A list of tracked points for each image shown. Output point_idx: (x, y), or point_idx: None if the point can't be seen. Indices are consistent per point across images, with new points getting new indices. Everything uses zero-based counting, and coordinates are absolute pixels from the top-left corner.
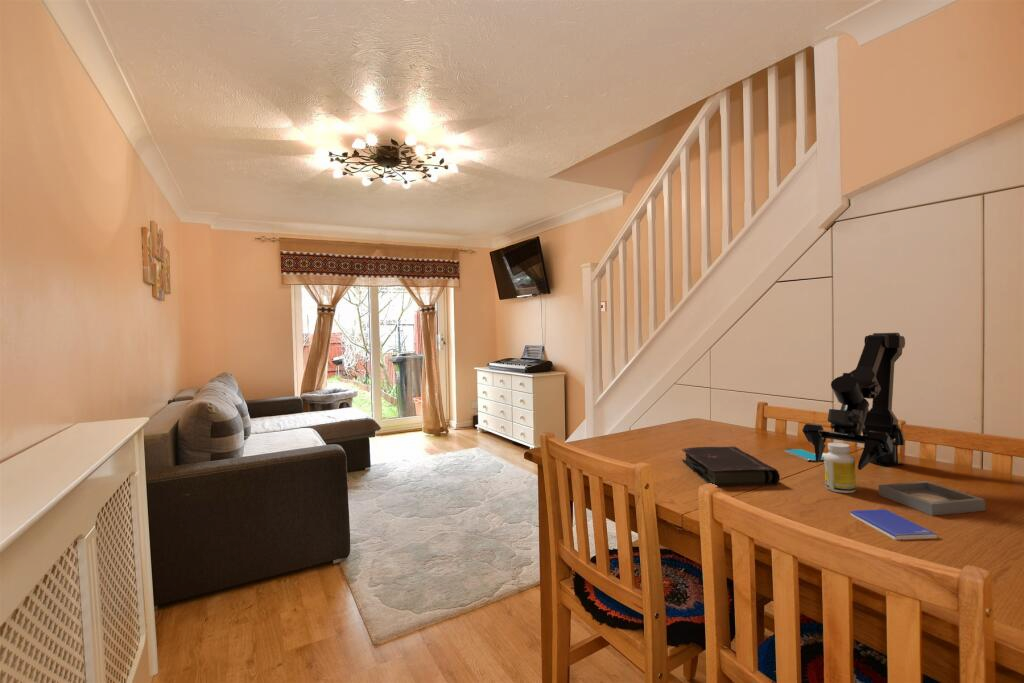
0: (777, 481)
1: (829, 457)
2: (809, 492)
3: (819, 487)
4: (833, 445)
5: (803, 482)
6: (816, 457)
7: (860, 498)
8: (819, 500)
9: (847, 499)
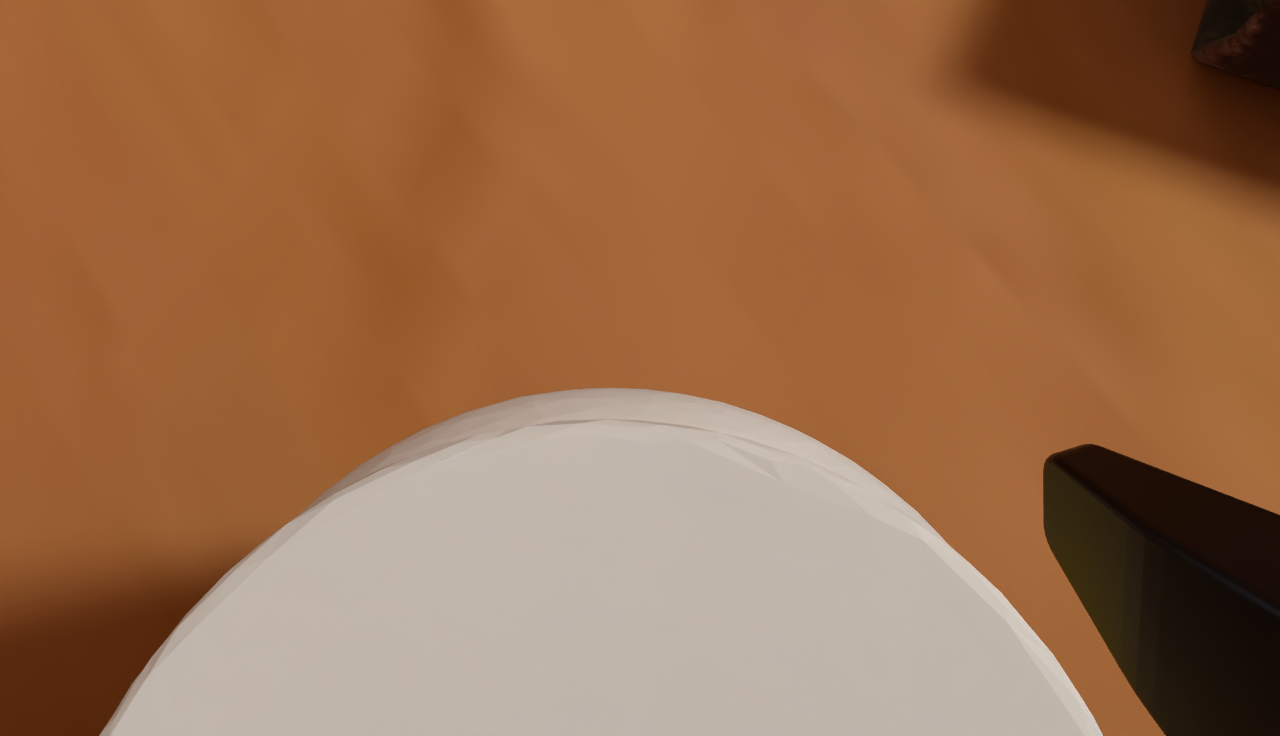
0: (1226, 36)
1: (660, 398)
2: (748, 187)
3: None
4: (616, 528)
5: None
6: (1138, 480)
7: None
8: (457, 25)
9: (283, 390)
